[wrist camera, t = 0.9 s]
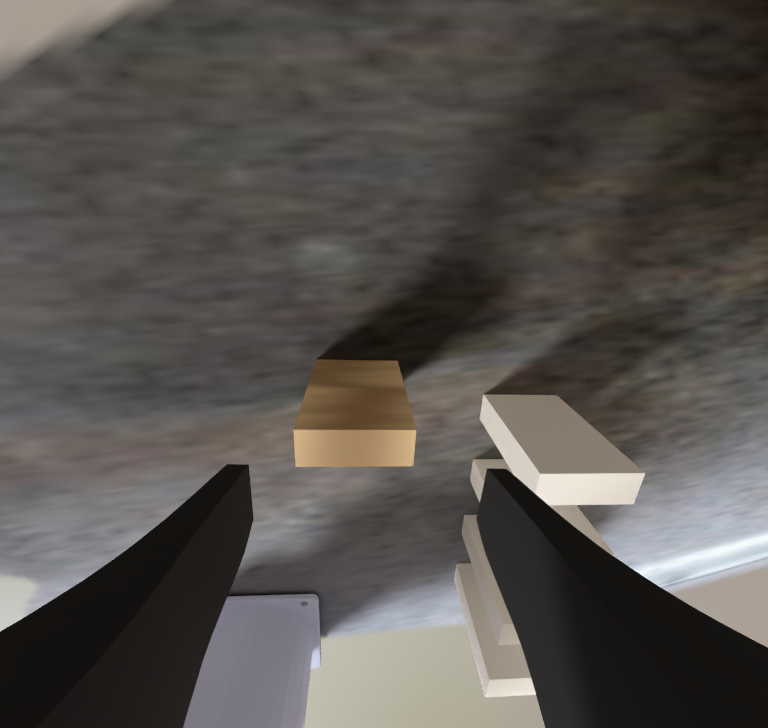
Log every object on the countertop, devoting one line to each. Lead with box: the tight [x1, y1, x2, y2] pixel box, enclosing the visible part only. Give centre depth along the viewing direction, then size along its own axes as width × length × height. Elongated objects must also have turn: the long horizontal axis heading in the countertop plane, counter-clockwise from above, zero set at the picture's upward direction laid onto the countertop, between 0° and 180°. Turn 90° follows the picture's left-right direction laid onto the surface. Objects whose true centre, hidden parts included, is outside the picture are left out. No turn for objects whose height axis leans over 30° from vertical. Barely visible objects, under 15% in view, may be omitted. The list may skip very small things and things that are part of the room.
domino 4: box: [470, 459, 614, 556], centre depth 19 cm, size 4×2×7 cm, turn 88°
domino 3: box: [480, 394, 645, 505], centre depth 18 cm, size 4×2×7 cm, turn 87°
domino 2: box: [454, 563, 536, 697], centre depth 23 cm, size 4×2×7 cm, turn 88°
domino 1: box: [461, 515, 520, 645], centre depth 21 cm, size 4×2×7 cm, turn 88°
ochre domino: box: [294, 359, 416, 467], centre depth 16 cm, size 4×2×7 cm, turn 88°
